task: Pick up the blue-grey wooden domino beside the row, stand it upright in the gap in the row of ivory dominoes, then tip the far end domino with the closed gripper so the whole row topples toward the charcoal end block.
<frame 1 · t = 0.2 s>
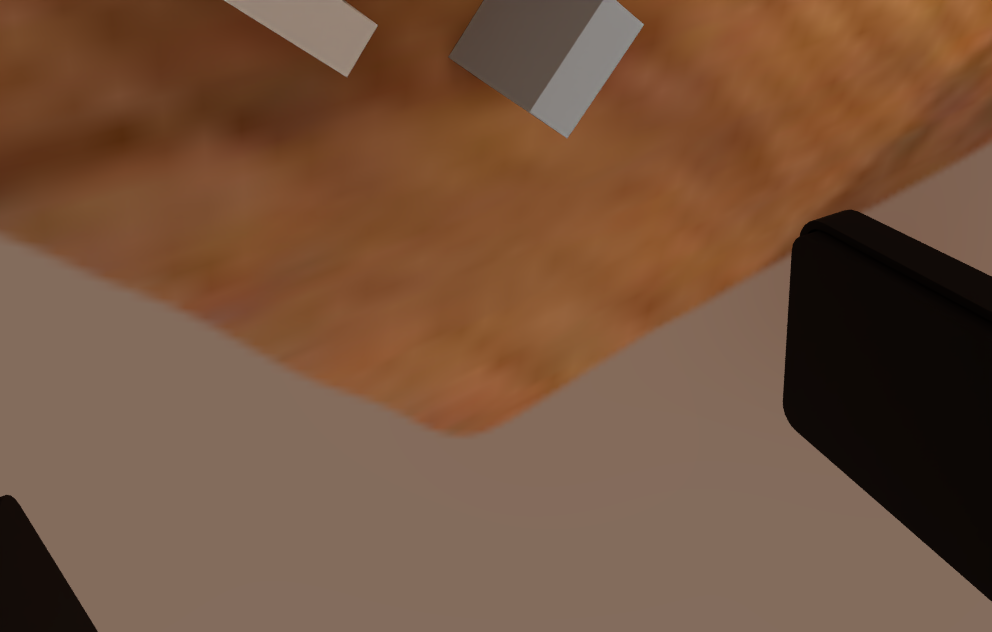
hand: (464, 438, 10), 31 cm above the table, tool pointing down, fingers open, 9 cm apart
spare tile: (493, 22, 39), on the table
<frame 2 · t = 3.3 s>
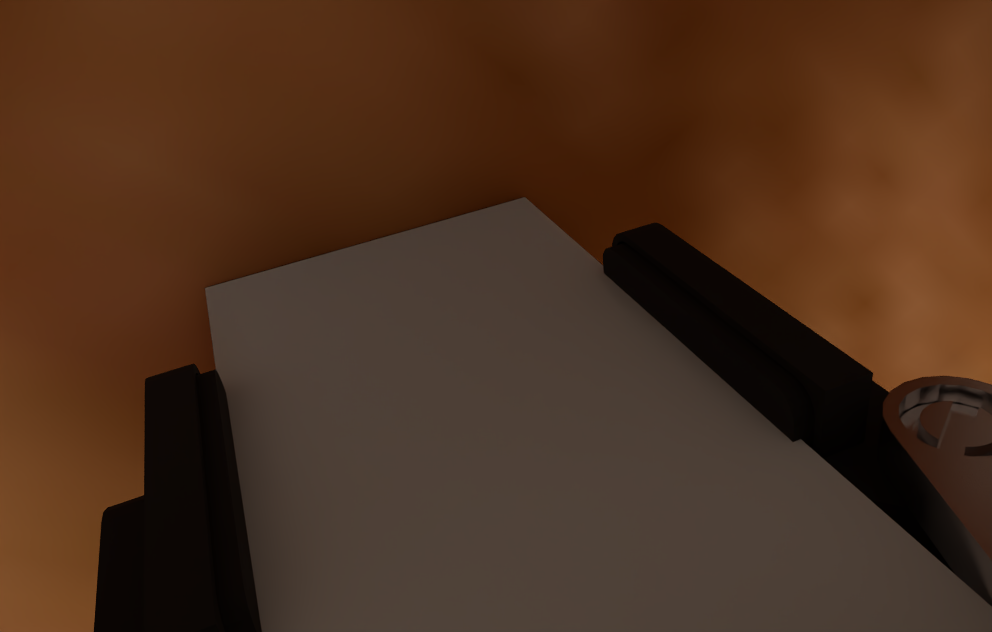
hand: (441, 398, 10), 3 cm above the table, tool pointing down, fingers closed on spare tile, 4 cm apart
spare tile: (386, 297, 13), on the table, touching gripper
when the fingers open (4 cm above the table, at t = 9.3 s): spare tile stays where it is, on the table.
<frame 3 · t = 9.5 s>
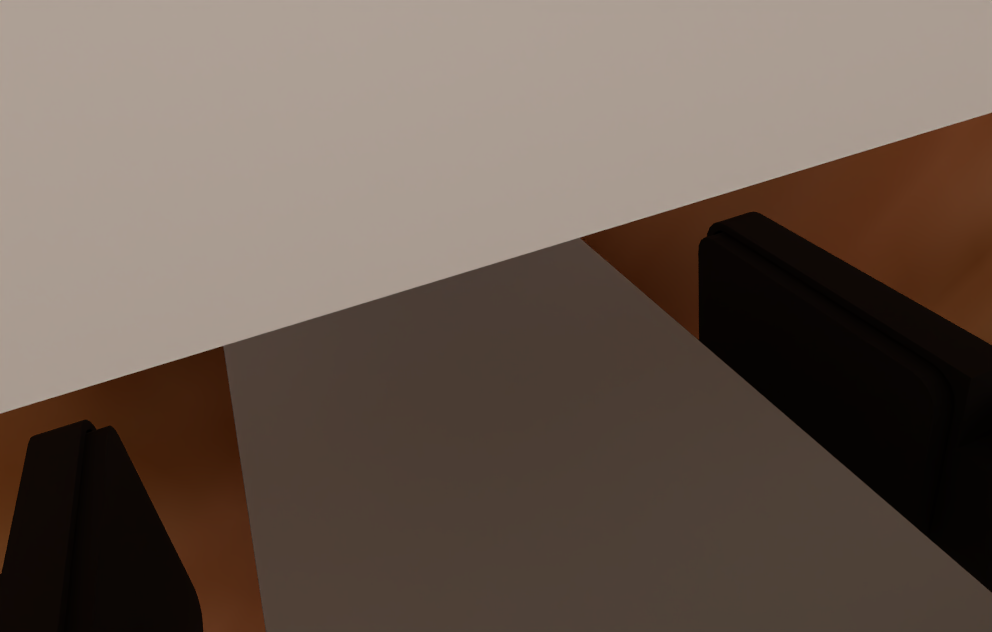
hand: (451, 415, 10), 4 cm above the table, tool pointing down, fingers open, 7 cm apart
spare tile: (380, 272, 14), on the table
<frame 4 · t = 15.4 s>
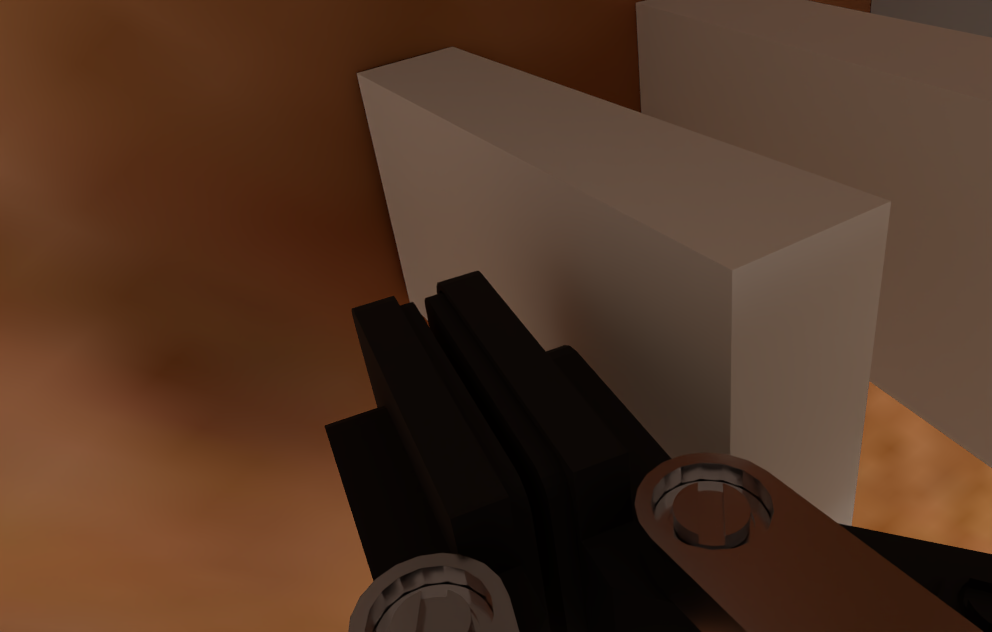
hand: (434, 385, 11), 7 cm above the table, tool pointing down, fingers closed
tile 2: (681, 109, 18), on the table
end tile: (429, 181, 17), on the table, tilted 7°
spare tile: (900, 43, 20), on the table
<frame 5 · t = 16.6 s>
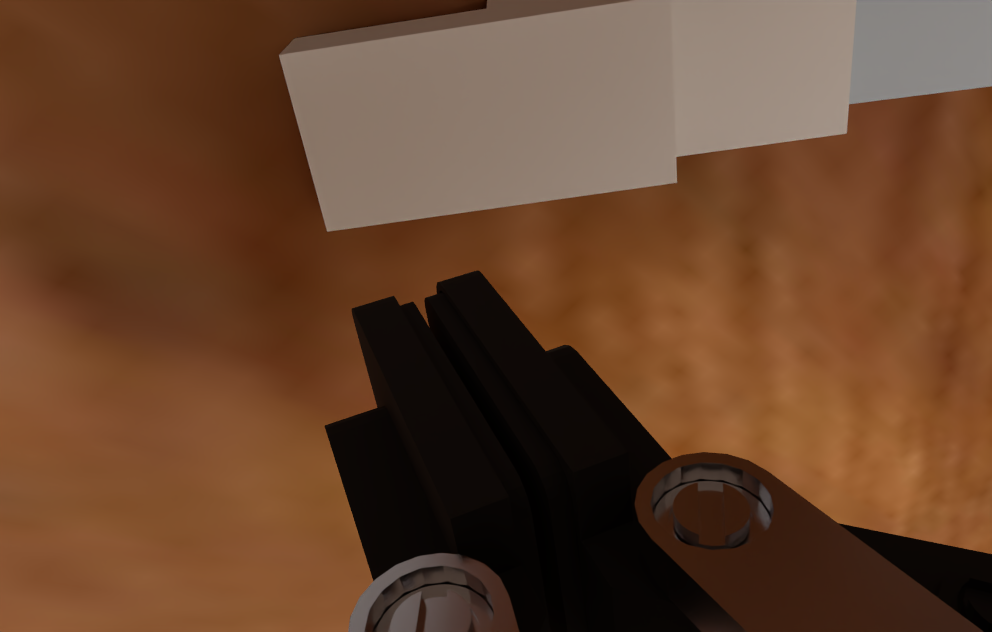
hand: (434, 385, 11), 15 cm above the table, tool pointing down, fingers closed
tile 2: (499, 89, 24), point 1 cm above the table, tilted 68°, touching end tile, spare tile
end tile: (311, 136, 23), point 1 cm above the table, tilted 69°, touching tile 2
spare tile: (666, 40, 26), point 1 cm above the table, tilted 65°, touching tile 2, tile 4
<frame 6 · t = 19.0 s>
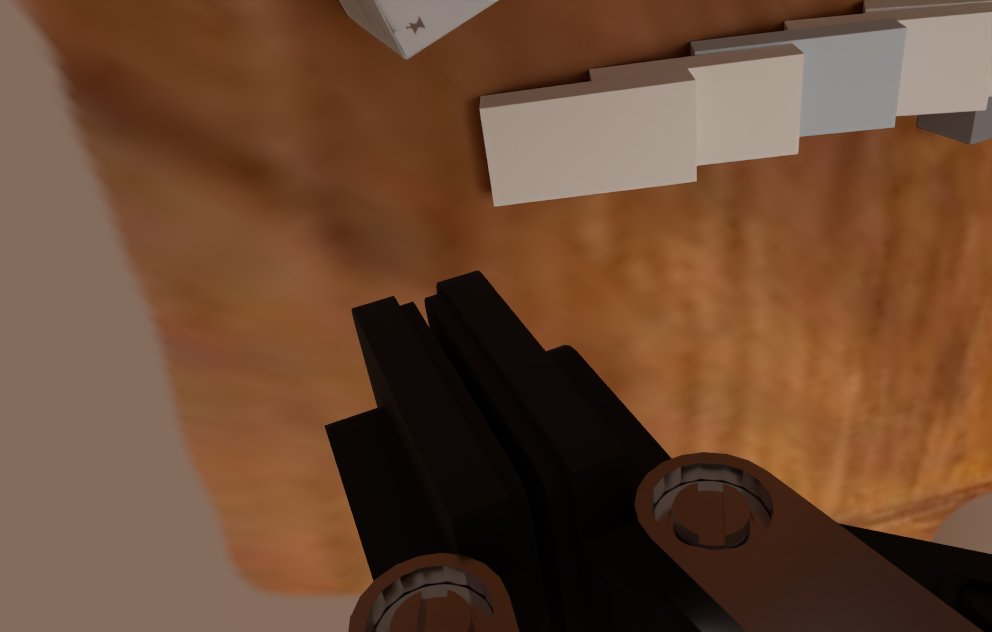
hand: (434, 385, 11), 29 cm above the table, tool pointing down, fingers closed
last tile: (860, 51, 46), point 1 cm above the table, tilted 52°, touching end block, tile 4
tile 4: (784, 72, 44), point 1 cm above the table, tilted 58°, touching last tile, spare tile
tile 2: (594, 123, 42), point 1 cm above the table, tilted 67°, touching end tile, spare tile
end block: (957, 20, 48), on the table
end tile: (487, 152, 40), point 1 cm above the table, tilted 69°, touching tile 2
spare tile: (692, 94, 43), point 1 cm above the table, tilted 64°, touching tile 2, tile 4
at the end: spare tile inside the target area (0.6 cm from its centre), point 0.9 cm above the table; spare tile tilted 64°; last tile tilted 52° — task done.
